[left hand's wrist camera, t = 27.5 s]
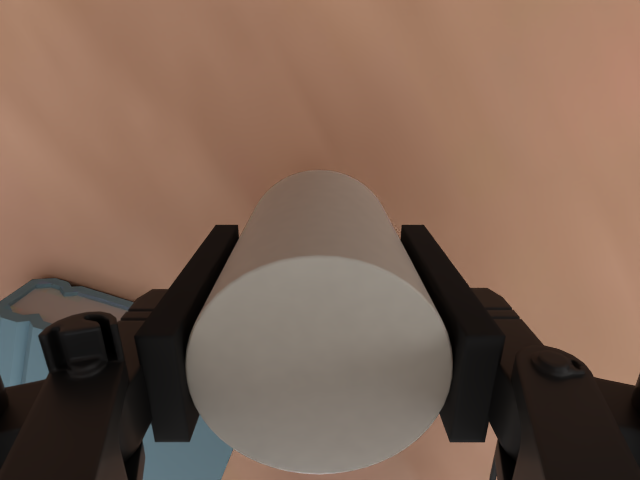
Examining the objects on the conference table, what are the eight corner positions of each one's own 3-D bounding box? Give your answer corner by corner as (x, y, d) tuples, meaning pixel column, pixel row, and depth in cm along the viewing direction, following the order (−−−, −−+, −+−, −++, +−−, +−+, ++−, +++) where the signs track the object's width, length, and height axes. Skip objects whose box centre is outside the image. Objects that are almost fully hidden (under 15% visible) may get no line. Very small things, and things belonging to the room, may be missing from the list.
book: (190, 536, 37) (171, 601, 32) (10, 492, 35) (-38, 555, 30) (266, 343, 29) (255, 392, 25) (41, 273, 27) (-17, 312, 23)
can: (262, 309, 17) (217, 486, 10) (235, 180, 15) (150, 275, 8) (394, 293, 17) (455, 462, 9) (384, 160, 15) (451, 237, 7)
